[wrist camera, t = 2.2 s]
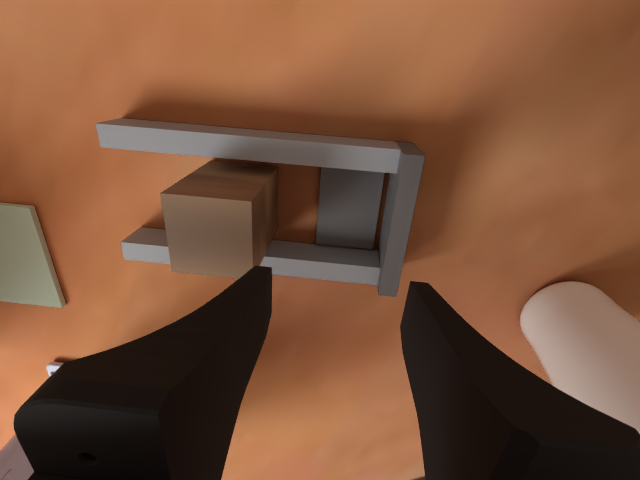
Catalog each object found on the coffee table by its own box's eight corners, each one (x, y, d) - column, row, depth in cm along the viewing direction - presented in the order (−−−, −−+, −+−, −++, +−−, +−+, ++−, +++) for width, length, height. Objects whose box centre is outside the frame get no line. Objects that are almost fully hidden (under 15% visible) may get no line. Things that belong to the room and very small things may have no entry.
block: (277, 228, 22) (253, 280, 17) (215, 222, 22) (171, 271, 17) (278, 166, 20) (251, 201, 15) (210, 160, 20) (160, 193, 15)
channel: (390, 267, 22) (396, 296, 20) (143, 243, 23) (114, 267, 20) (413, 143, 19) (425, 156, 16) (121, 118, 20) (81, 126, 17)
